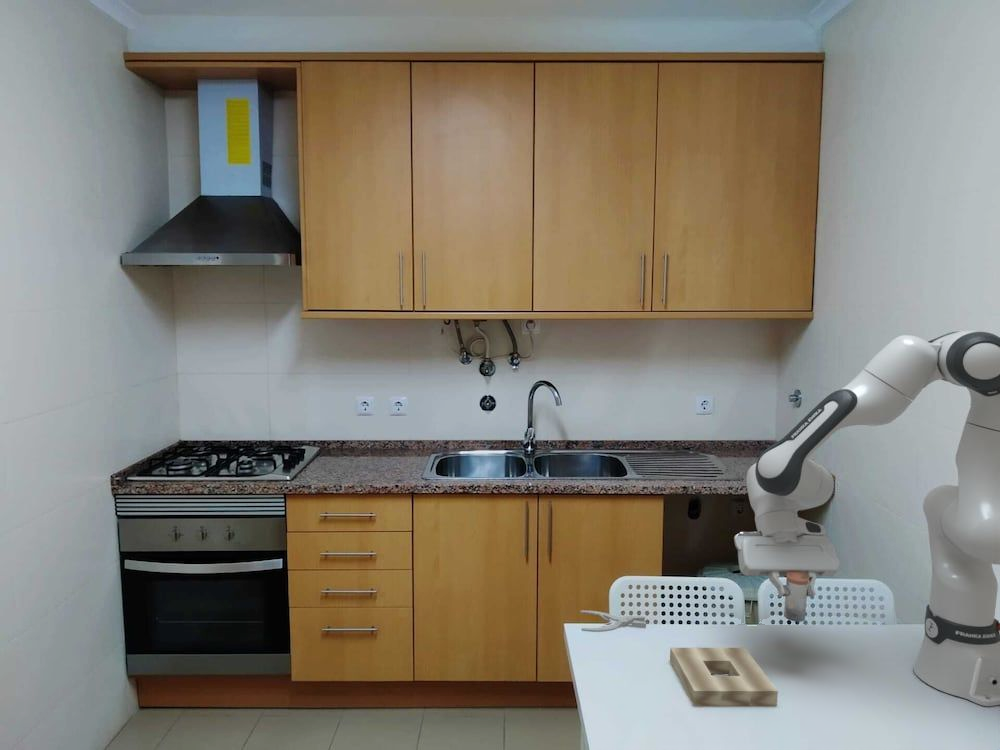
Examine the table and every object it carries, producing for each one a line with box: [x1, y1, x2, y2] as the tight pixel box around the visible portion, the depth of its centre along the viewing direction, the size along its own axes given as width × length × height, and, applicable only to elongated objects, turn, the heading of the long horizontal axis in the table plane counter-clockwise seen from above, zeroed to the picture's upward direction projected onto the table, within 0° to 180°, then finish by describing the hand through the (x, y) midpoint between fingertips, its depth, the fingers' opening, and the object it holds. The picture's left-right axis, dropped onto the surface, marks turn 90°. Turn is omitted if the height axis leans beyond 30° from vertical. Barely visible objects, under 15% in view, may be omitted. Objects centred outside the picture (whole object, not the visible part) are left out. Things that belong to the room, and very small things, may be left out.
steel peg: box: [783, 571, 809, 623], centre depth 141 cm, size 4×4×9 cm
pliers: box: [579, 610, 647, 633], centre depth 163 cm, size 10×2×15 cm
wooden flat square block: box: [669, 647, 779, 707], centre depth 139 cm, size 16×16×3 cm
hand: (797, 595), depth 140 cm, fingers closed on steel peg, 4 cm apart
